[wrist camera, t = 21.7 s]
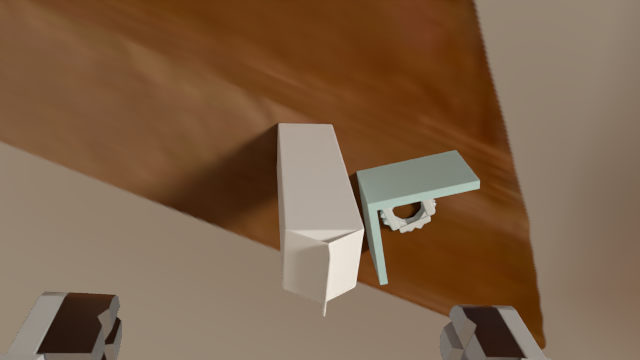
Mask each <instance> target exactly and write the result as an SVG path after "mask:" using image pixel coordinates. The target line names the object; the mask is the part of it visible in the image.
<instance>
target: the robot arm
mask: <svg viewBox="0 0 640 360" xmlns="http://www.w3.org/2000/svg"><path fill="white" fill-rule="evenodd" d="M119 308H120V304H119V297H118V296H117V295H107V294H88V293H63V292H44V293H43V294H42V295H40V296H39V297H38V299H37V301H36V302H35V304H34V306H33V308H32V309H31V311H30V313H29V315H28V316H27V318H26V320H25V321H24V323H23V325H22V327H21V328H20V330H19V332H18V334H17V335H16V337H15V339H14V340H13V342H12V344H11V346H10V347H9V349H8V351H7V353H6V354H0V360H117V356H118V353H119V348H120V343H121V338H122V323H121V320H120V319H119V318H118V317H117V313H118V311H119ZM449 317H450V319H451V323H449V324H447V325H446V326H445V327H444V328H443V330H442V333H441V336H440V351H441V356H442V358H443V360H552V359H546V358H545V356H544V354H543V353H542V351H541V350H540V348H539V346H538V345H537V343H536V342H535V340H534V338H533V337H532V335H531V334H530V332H529V330H528V329H527V327H526V326H525V324H524V323H523V321H522V319H521V318H520V316H519V315H518V313H517V311H516V310H515V309H514V308H513V307H511V306H488V305H455V306H454V307H453V308H452V309H451V311H450V314H449Z"/></svg>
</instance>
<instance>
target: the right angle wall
mask: <svg viewBox="0 0 640 360" xmlns="http://www.w3.org/2000/svg"><path fill="white" fill-rule="evenodd" d="M357 178H358V184H359V190H360V196H361V202H362V208H363V214H364V220H365V226H366V232H367V238H368V245H369V249H370V252H371V256H372V259H373V262H374V266H375V269H376V272H377V275H378V279H379V282H380V285H383V284H388V282H387V276H386V269H385V262H384V255H383V248H382V241H381V234H380V228H379V221H378V214H377V210H381V212H380V214H381V216H380V217H381V218H383V221H384V224H386V225H390V227H391V228H392V230H397V229H399V230H400V232H401V233H403V232H406V231H412V230H413V229H414V228H415V227H416V228H421V227H422V226H423V224H425V223H427V222H430V221H431V219H430V218H431V217H430V215H433V214H435V208H434V207H435V206H436V203H435V200H433V198H438V197H442V196H447V195H452V194H456V193H461V192H466V191H470V190H475V189H480V180H479V179H478V177H477V176H476V175H475V174H474V172H473V171H472V170H471V168H470V167H469V166H468V165H467V163H466V162H465V161H464V160H463V158H462V157H461V156H460V154H459V153H458V152H457V151H456V150H454V151H449V152H445V153H440V154H435V155H431V156H426V157H421V158H417V159H412V160H408V161H403V162H398V163H394V164H389V165H384V166H380V167H375V168H370V169H366V170H361V171H357ZM419 201H421V209H420V210H419V212H418V213H417V214H416V215H415V216H414V217H412V218H407V219H400V218H398V217H396V216H394V214H393V212H392V209H393V208H394V207H396V206H400V205H405V204H410V203H414V202H419Z"/></svg>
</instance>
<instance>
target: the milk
mask: <svg viewBox="0 0 640 360" xmlns="http://www.w3.org/2000/svg"><path fill="white" fill-rule="evenodd" d="M277 182H278V204H279V225H280V246H281V265H282V266H281V267H282V287H283V289H285V290H288V291H290V292H293V293H295V294H298V295H300V296H303V297H305V298H308V299H310V300H313V301H315V302H318V303H320V304H321V307H322V313H323V317H324V316H325V312H326V302H327V301H329V300H331V299H333V298H335V297H336V296H338V295H340V294H342V293H344V292H346V291H348V290H350V289H352V288H354V287H355V286H356V280H357V274H358V267H359V260H360V254H361V247H362V241H363V234H364V226H363V223H362V220H361V217H360V214H359V210H358V207H357V204H356V201H355V197H354V194H353V191H352V188H351V184H350V181H349V178H348V175H347V171H346V168H345V165H344V162H343V158H342V155H341V152H340V149H339V145H338V142H337V139H336V136H335V132H334V129H333V126H332V124H293V123H278V146H277Z"/></svg>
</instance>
